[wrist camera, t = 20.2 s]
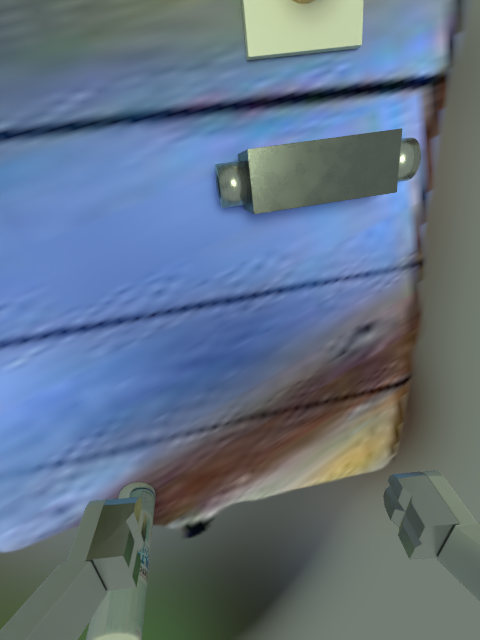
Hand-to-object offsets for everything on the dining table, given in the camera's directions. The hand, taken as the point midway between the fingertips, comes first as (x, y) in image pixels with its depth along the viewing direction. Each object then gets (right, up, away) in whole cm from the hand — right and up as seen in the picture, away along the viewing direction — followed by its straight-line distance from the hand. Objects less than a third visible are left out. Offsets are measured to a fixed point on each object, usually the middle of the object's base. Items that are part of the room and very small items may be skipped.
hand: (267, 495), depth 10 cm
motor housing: (+7, +23, +27) cm, 36 cm away
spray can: (-19, -25, +45) cm, 55 cm away
